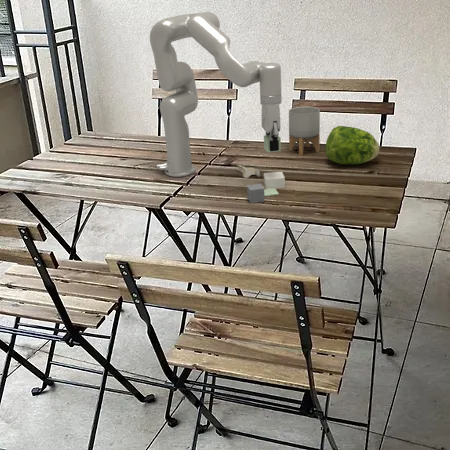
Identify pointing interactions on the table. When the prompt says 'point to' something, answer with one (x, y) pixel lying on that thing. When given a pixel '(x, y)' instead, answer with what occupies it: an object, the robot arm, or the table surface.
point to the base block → (274, 180)
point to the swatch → (270, 192)
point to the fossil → (248, 171)
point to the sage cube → (267, 143)
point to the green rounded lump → (351, 146)
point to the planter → (304, 127)
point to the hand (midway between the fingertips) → (272, 147)
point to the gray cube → (255, 193)
